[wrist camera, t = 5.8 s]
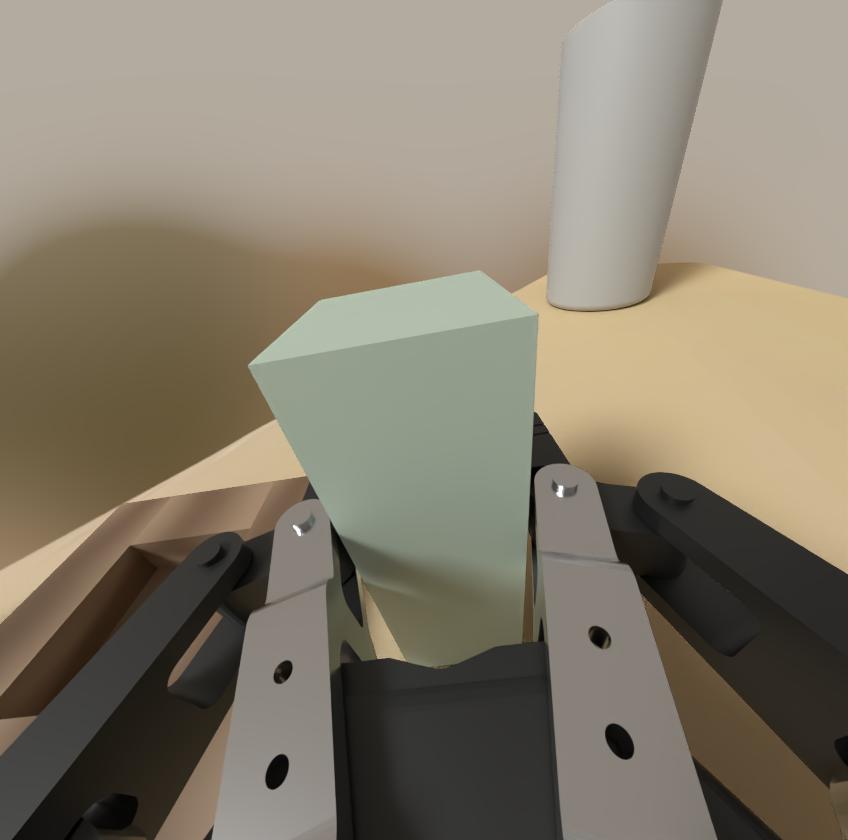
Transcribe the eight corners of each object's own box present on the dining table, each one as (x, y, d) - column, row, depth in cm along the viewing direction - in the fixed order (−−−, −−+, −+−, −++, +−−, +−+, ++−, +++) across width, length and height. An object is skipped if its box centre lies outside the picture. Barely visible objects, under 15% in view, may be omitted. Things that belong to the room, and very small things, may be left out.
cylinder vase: (532, 311, 41) (542, 35, 28) (562, 287, 49) (582, 60, 35) (640, 314, 34) (728, -58, 20) (656, 286, 42) (728, -1, 28)
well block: (344, 507, 18) (327, 473, 16) (258, 877, 8) (194, 883, 6) (155, 534, 18) (122, 504, 17) (-146, 904, 8) (-294, 915, 7)
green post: (495, 552, 14) (479, 270, 7) (521, 656, 11) (538, 314, 4) (410, 563, 14) (319, 300, 7) (410, 668, 11) (248, 365, 4)
